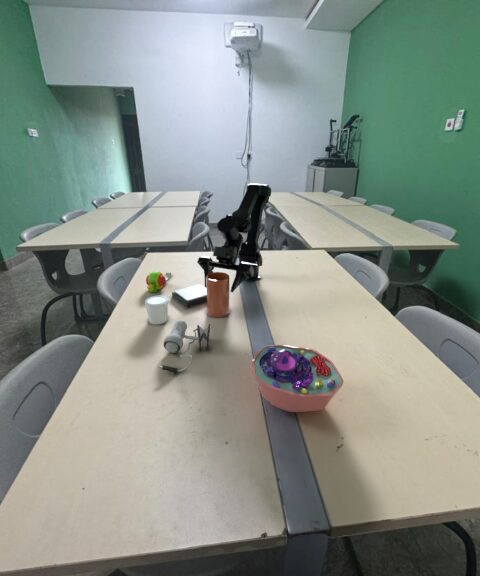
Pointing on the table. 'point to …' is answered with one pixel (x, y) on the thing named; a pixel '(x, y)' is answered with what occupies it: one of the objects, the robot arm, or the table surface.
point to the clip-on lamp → (175, 341)
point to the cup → (217, 294)
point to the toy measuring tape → (156, 280)
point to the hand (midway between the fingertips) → (218, 289)
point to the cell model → (295, 378)
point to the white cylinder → (157, 309)
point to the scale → (191, 295)
